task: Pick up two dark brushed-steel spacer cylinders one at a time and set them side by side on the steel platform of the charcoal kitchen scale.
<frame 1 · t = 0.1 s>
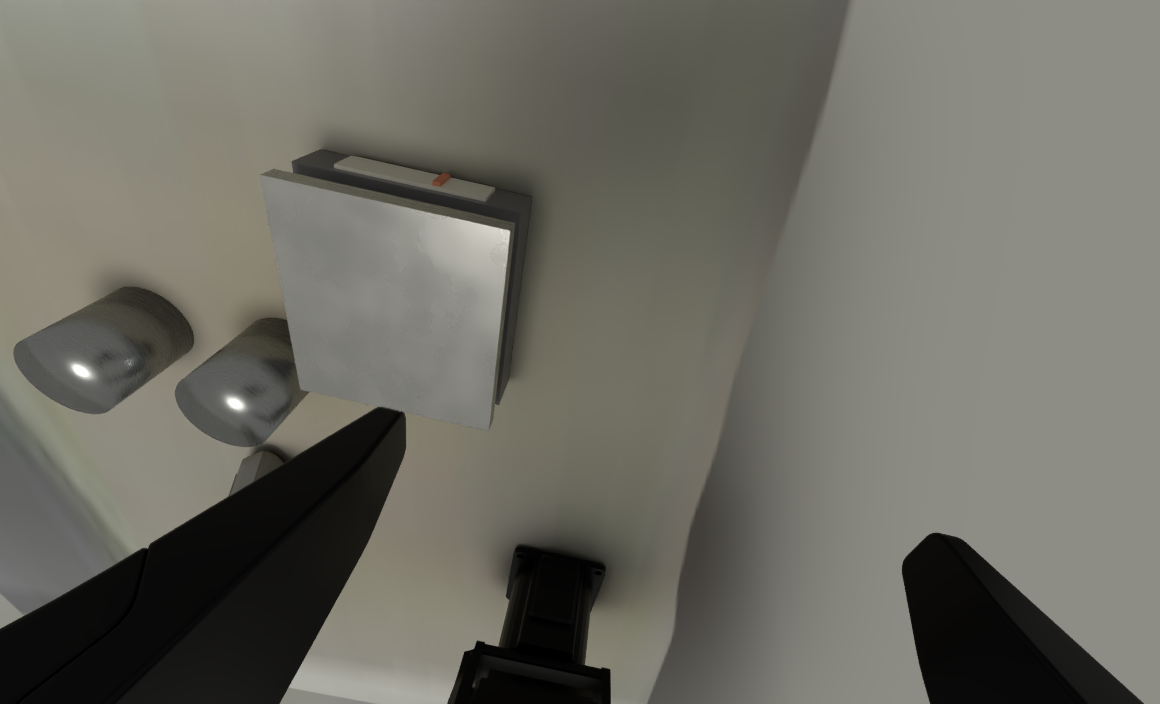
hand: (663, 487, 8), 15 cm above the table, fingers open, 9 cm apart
spacer b: (153, 322, 27), on the table
scale base: (425, 279, 24), on the table
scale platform: (394, 316, 21), point 3 cm above the table, slide at -0.2 cm
digital clock: (277, 513, 37), on the table
spacer a: (287, 352, 27), on the table
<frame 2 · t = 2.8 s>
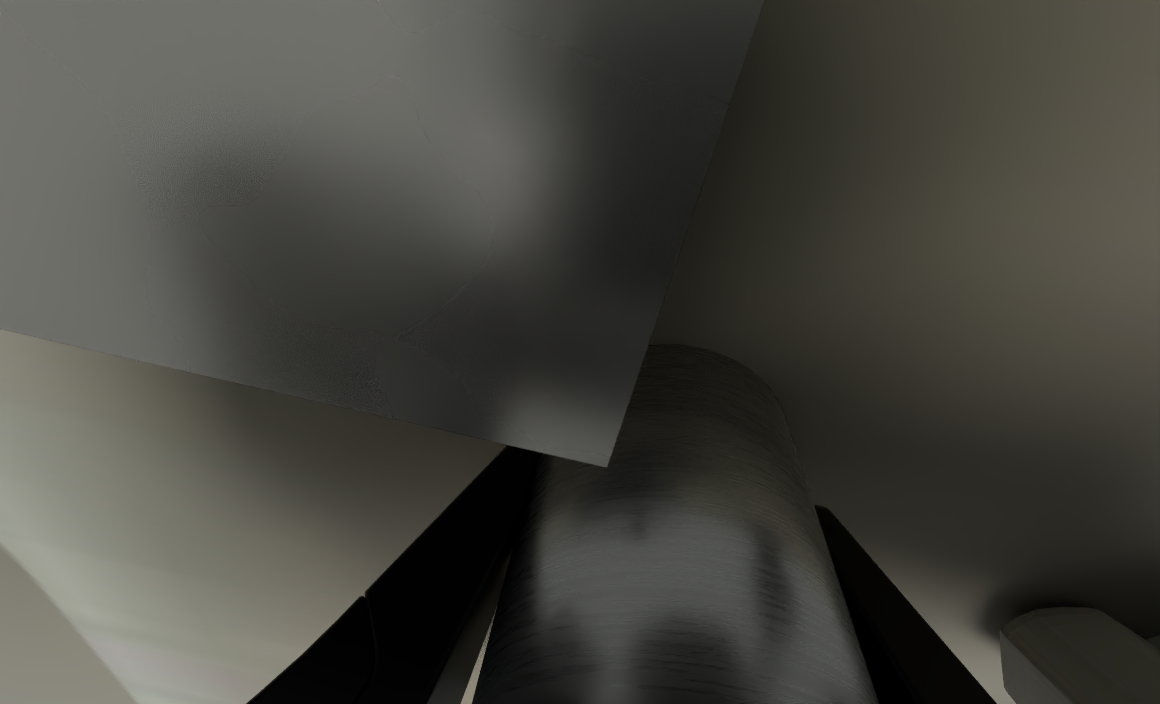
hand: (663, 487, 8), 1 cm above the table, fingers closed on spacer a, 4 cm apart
spacer a: (661, 443, 9), on the table, touching gripper
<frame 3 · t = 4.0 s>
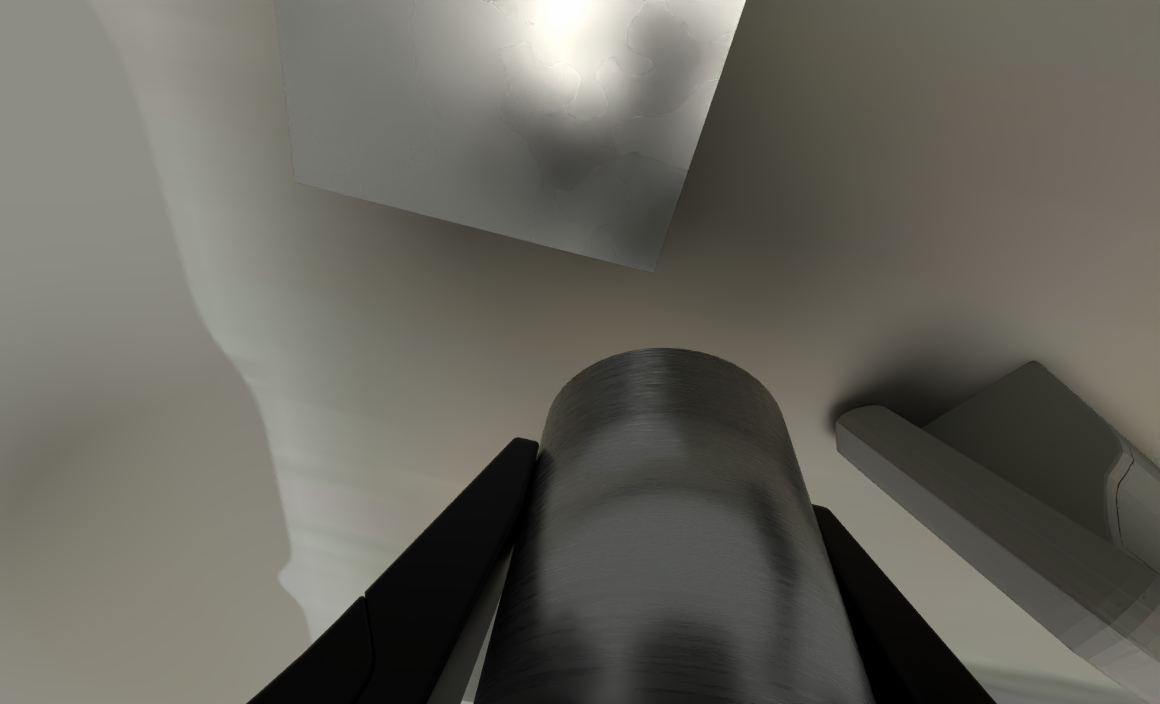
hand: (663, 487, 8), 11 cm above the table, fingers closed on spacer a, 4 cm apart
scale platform: (500, 37, 11), point 3 cm above the table, slide at -0.2 cm
digital clock: (990, 468, 22), on the table
spacer a: (661, 445, 9), point 10 cm above the table, touching gripper
when the fingers open (6 cm above the table, at t = 5.5 s): spacer a drops 2 cm, resting on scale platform.
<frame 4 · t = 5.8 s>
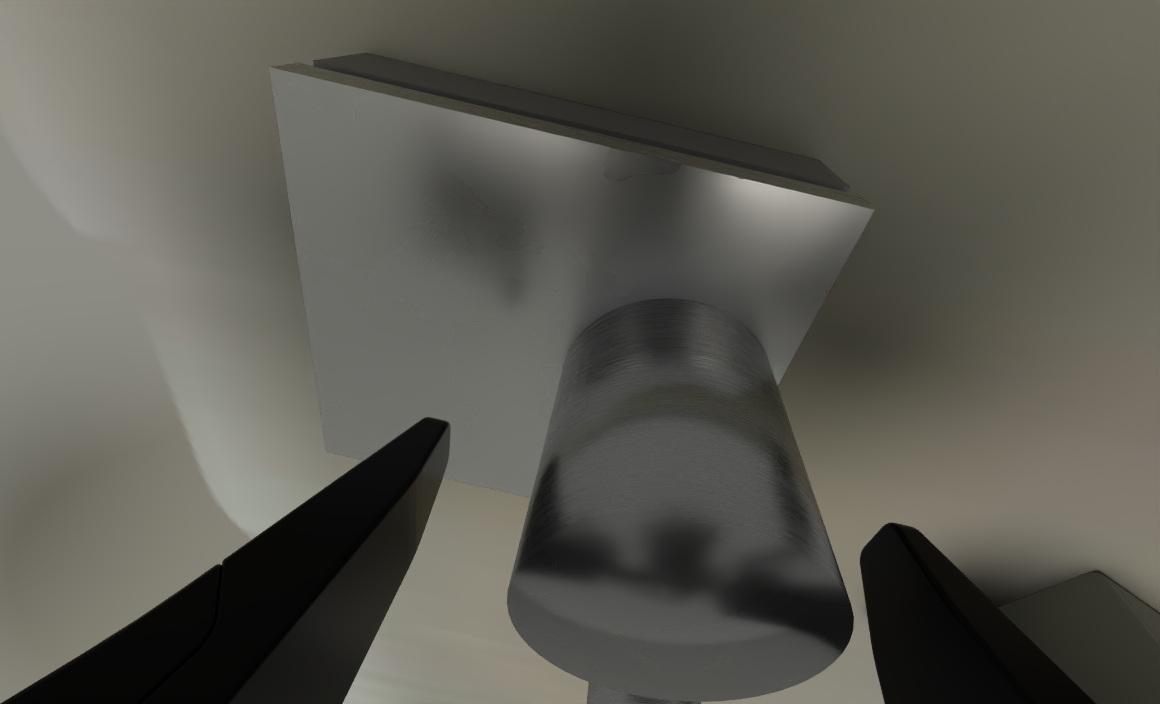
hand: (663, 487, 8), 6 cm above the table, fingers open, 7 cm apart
spacer b: (644, 619, 22), on the table
scale base: (558, 289, 13), on the table
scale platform: (539, 348, 11), point 3 cm above the table, slide at -0.8 cm, touching spacer a
digital clock: (1044, 649, 20), on the table
spacer a: (663, 389, 11), point 3 cm above the table, touching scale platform
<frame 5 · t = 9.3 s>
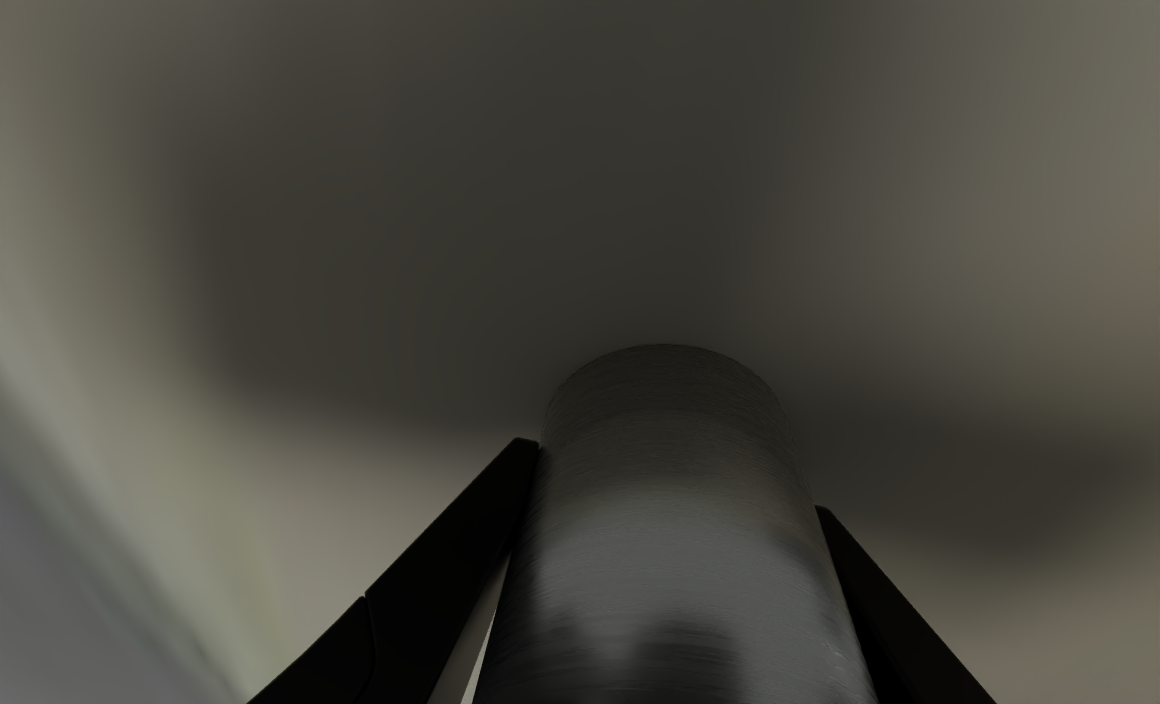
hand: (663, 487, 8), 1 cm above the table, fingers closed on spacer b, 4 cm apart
spacer b: (661, 443, 9), on the table, touching gripper
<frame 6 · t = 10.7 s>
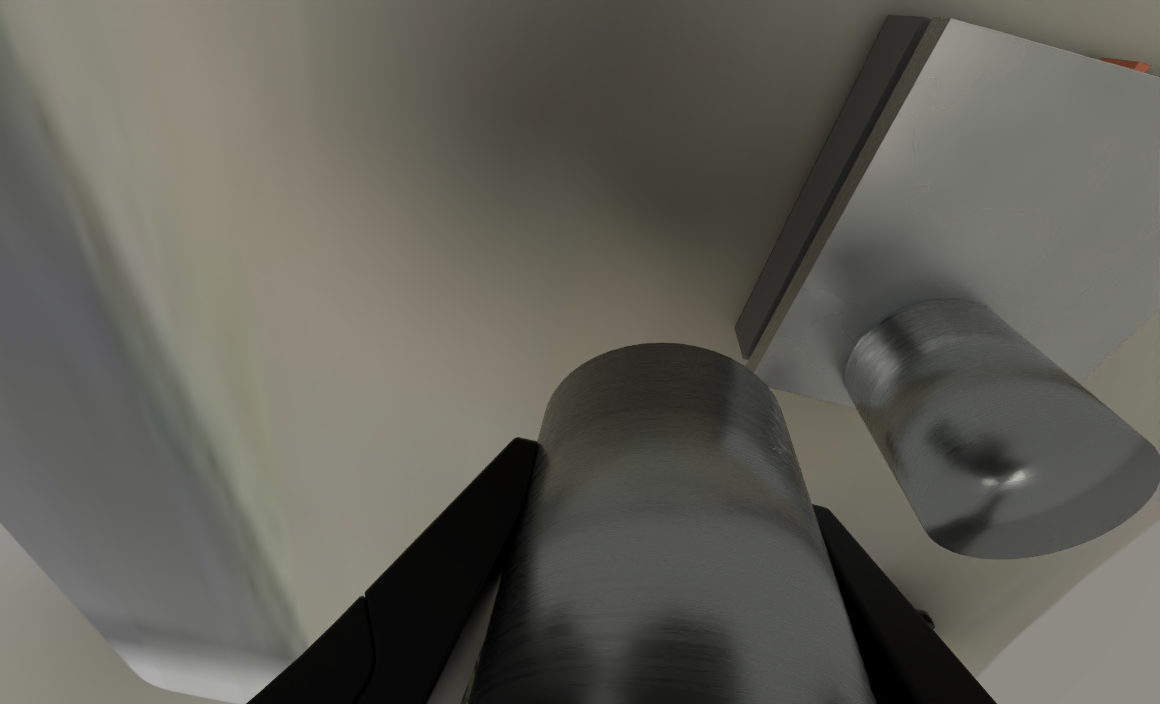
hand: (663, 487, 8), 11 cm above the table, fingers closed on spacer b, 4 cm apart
spacer b: (659, 441, 9), point 10 cm above the table, touching gripper
scale base: (930, 235, 16), on the table
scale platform: (979, 275, 14), point 3 cm above the table, slide at -0.8 cm, touching spacer a
spacer a: (923, 364, 15), point 3 cm above the table, touching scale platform
when the fingers open (6 cm above the table, at t = 12.4 s): spacer b drops 2 cm, resting on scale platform.
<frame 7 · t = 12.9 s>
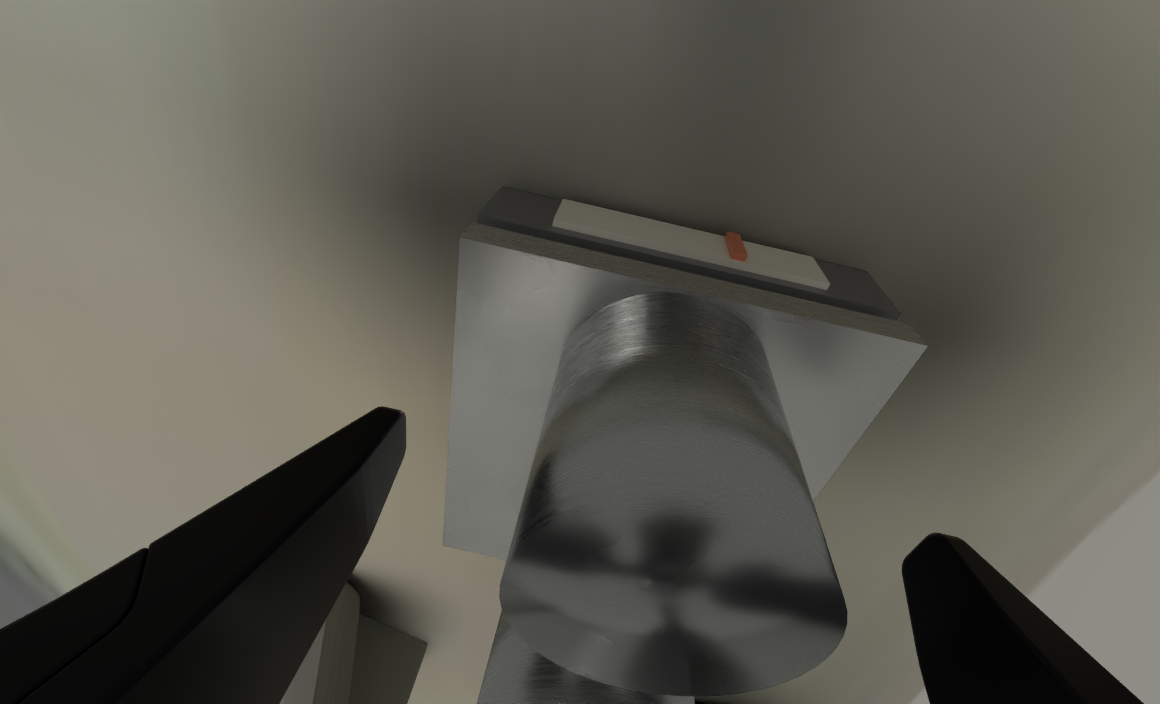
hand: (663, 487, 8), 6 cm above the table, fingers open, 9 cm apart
spacer b: (660, 384, 11), point 3 cm above the table, touching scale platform
scale base: (633, 386, 15), on the table
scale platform: (629, 456, 12), point 3 cm above the table, slide at -0.9 cm, touching spacer a, spacer b
digital clock: (331, 636, 28), on the table
spacer a: (603, 538, 14), point 3 cm above the table, touching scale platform
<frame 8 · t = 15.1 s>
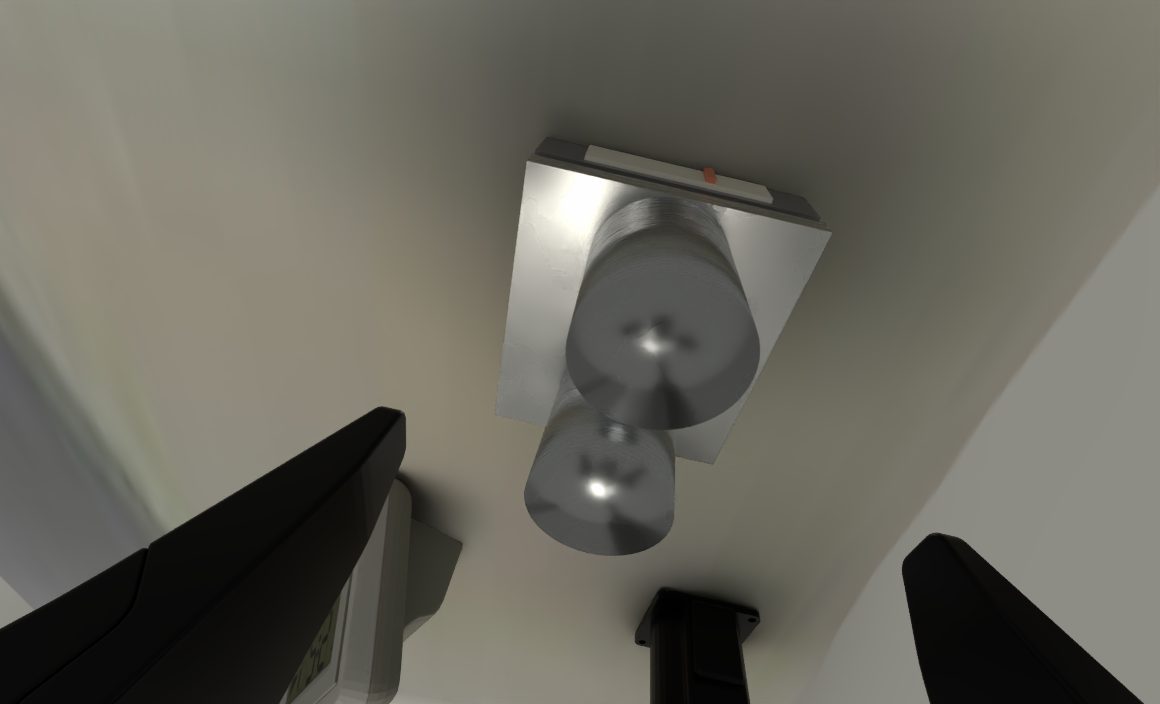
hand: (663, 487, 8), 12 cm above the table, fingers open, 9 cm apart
spacer b: (657, 267, 16), point 3 cm above the table, touching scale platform
scale base: (637, 294, 20), on the table
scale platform: (636, 332, 17), point 3 cm above the table, slide at -0.8 cm, touching spacer a, spacer b
digital clock: (379, 542, 32), on the table
spacer a: (616, 401, 19), point 3 cm above the table, touching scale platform
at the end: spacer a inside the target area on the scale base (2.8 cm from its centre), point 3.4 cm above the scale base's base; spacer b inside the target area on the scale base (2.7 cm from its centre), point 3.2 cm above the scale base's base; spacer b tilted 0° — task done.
